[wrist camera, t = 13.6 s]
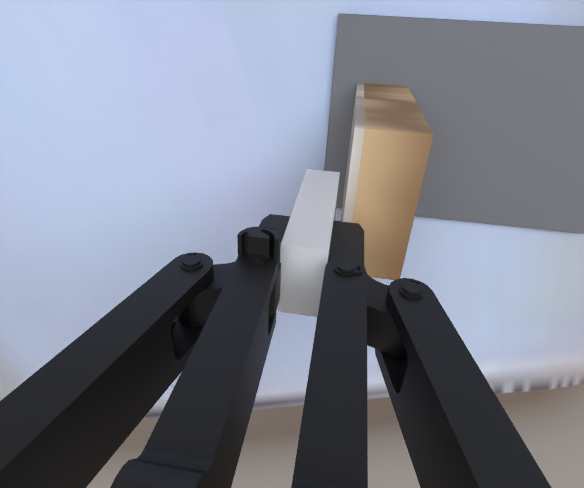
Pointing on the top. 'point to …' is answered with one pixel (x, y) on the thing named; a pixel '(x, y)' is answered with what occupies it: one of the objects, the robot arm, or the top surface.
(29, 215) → the top surface
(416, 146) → the wooden block
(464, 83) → the mat
